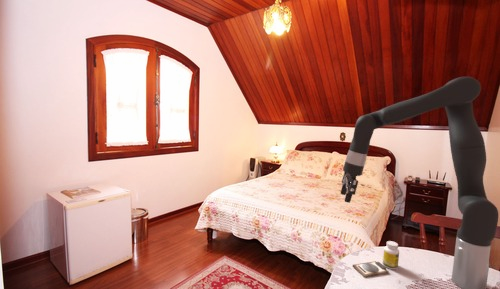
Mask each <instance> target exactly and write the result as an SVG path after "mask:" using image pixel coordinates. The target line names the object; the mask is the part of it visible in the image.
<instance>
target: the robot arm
mask: <svg viewBox="0 0 500 289" xmlns="http://www.w3.org/2000/svg"><path fill="white" fill-rule="evenodd" d="M481 90H482V86H481V83H480V82H479V80H477V79H475V78H474V77H471V76H460V77H457V78H453V79H452V80H449V81H448V82H447V83H446V84H444V85H442V86H441V87H439V88H437V89H435V90H432V91H430V92H428V93H425V94H422V95H418V96H415V97H413V98H409V99H406V100H402V101H400V102H396V103H394V104H391V105H388V106H386V107H383V108H381V109H379V110H377V111H373V112H371V113H367V114H364V115H361V116H359V117H358V119H356V123H355V126H354V131H353V137H352V139H351V141H350V144H349V149H348V152H347V154H346V158H345V160H344V161H345V162H344V165H343V168H342V170H343V176H342V178H341V190H340V195H343V196H345V197H344V202H345V203H347V204H348V203H349V204H350V203H351V200H352V198H353V196H355V195H356V192H357V188H358V184H359V180H358V179H357V177H361V176H363V171H364V168H365V165H366V163H367V162H366V161H367V156H368V152H369V149H370V146H371V144H370V143H371V139H372V137H373V133H374V131H375V130H376V129H379V128H382V127H385V126H389V125H394V124H397V123H401V122H403V121H406V120H409V119H412V118H414V117H417V116H419V115H423V114H425V113H428V112H430V111H433V110H437V109H441V108H445V112H446V116H447V121H448V134H449V143H450V144H449V145H450V153H451V159H452V164H453V169H454V172H455V177H456V181H457V182H456V184H457V207H458V211H459V212H460V213H461V215H462V218H461V223H460V224H461V225H460V227H459V228H457V231H456V237H455V238H456V240H455V246H454V255H453V262H452V263H453V264H452V271H451V272H452V273H451V281H452V282H453V283H454V284H455V286H457V287H459V288H461V289H486V288H487V285H488V284H487V283H488V276H489V269H490V263H489V262H490V254H491V247H492V241H493V240H494V239H495V236H496V233H497V228H498V223H499V210H498V207H496V205H495V204H494V203H493V202H491V201H490V199H488V197H487V194H486V190H485V186H484V173H485V170H486V165H487V151H486V145H485V144H486V143H485V140H484V137H483V136H484V135H483V134H482V131H481V129H480V128H479V125H478V123H477V121H476V118H475V115H474V106H473V101H474V100H475V99H476V98H478V97H479V96H480V93H481Z"/></svg>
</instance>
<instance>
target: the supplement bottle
mask: <svg viewBox="0 0 500 289" xmlns="http://www.w3.org/2000/svg"><path fill="white" fill-rule="evenodd" d="M399 258H400V250H399V244H398V243H397V242H395V241H394V240H393V241H391V240H388V241H386V246H384V248H383V257H382V265H384V266H385V267H386V269H390V270H397V269H398V267H399Z"/></svg>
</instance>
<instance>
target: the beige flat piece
mask: <svg viewBox="0 0 500 289" xmlns="http://www.w3.org/2000/svg"><path fill="white" fill-rule="evenodd" d="M352 267H353V269H354V270H356V271H357V273H359V274H360V276H362V277H363V278H364V279H365V278H369V277H370V278H371V277H375V276H381V275H382V276H383V275H387V274H389V273H390V272H389V270H388V269H387V267H385V266H384V265H383V263H381V262H380V261H369V262H362V263H356V264H355V263H354V264H352Z"/></svg>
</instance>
